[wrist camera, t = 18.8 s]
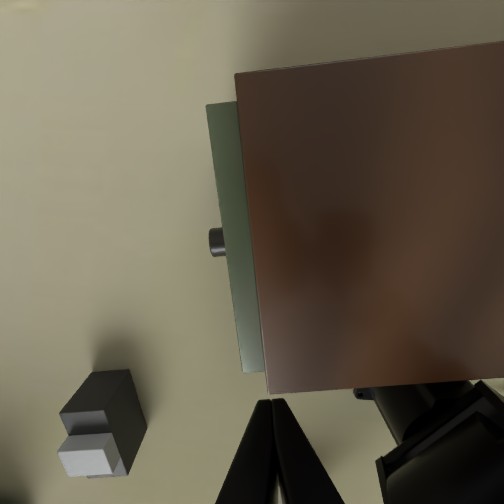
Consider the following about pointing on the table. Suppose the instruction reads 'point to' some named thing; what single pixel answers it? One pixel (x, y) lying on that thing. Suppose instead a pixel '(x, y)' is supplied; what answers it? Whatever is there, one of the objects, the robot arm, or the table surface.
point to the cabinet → (378, 217)
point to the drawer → (235, 230)
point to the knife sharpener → (102, 426)
